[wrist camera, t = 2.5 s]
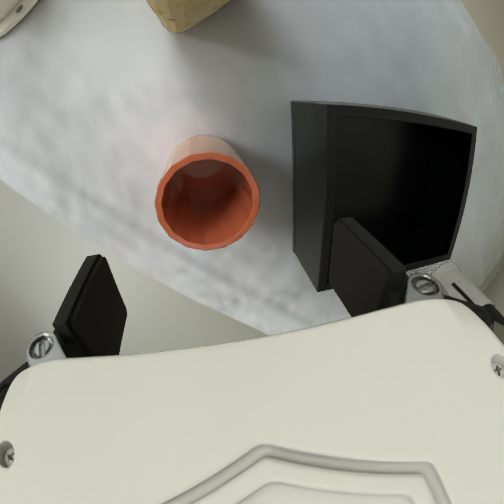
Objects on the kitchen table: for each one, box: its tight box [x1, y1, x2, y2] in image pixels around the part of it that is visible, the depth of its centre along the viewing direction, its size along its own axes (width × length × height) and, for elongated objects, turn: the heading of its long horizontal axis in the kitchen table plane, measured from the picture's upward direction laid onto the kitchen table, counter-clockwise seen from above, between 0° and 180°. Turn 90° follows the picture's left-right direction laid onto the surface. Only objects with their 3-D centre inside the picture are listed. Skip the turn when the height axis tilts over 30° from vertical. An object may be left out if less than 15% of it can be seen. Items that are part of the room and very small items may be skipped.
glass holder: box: [431, 262, 504, 326], centre depth 30 cm, size 9×14×15 cm, turn 59°
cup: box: [155, 135, 260, 250], centre depth 19 cm, size 6×6×8 cm
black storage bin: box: [291, 101, 477, 292], centre depth 22 cm, size 17×15×7 cm
